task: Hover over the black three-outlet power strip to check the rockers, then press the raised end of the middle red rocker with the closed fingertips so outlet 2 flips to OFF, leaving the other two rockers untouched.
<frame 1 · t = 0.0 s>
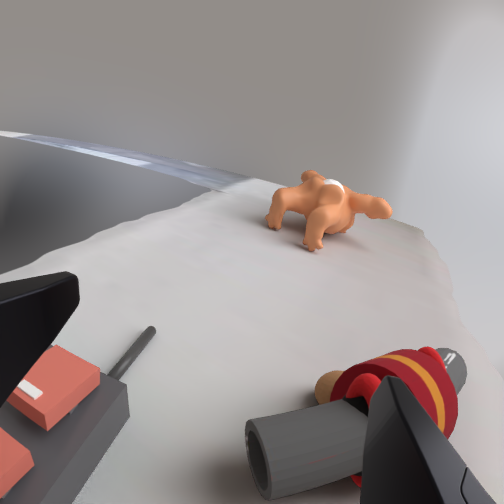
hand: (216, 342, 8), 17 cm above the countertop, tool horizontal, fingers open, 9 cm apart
rocker 3: (51, 382, 16), point 6 cm above the countertop, hinge at 12.0°
toy: (361, 446, 23), on the countertop
figurine: (316, 235, 70), on the countertop
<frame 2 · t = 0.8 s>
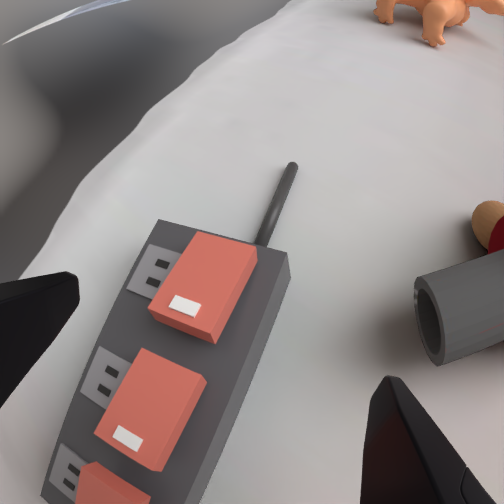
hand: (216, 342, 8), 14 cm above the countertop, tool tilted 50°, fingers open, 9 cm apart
rocker 3: (204, 282, 19), point 6 cm above the countertop, hinge at 12.0°
figurine: (432, 28, 42), on the countertop
rocker 2: (149, 409, 16), point 6 cm above the countertop, hinge at 12.0°
power strip: (167, 403, 21), on the countertop
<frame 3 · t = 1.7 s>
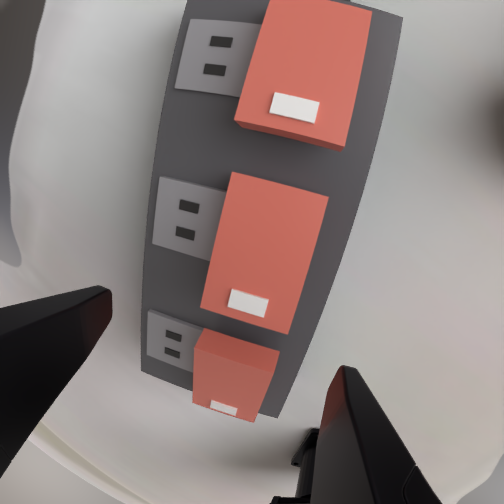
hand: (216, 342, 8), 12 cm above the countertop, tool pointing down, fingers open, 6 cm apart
rocker 3: (307, 64, 11), point 6 cm above the countertop, hinge at 12.0°
rocker 2: (263, 252, 14), point 6 cm above the countertop, hinge at 12.0°
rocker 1: (230, 382, 17), point 6 cm above the countertop, hinge at -12.0°
power strip: (256, 211, 19), on the countertop
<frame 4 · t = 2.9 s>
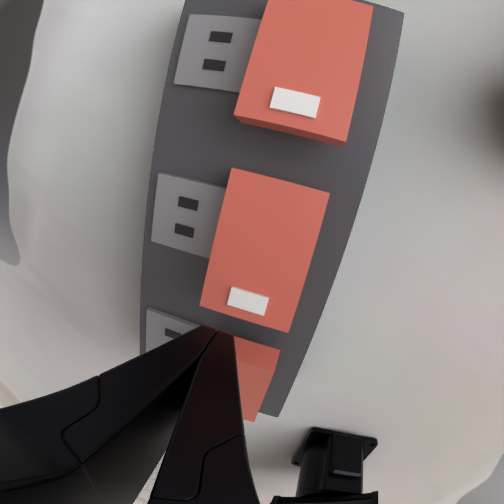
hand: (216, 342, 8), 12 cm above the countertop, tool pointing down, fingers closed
rocker 3: (308, 59, 11), point 6 cm above the countertop, hinge at 12.0°
rocker 2: (263, 250, 14), point 6 cm above the countertop, hinge at 12.0°
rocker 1: (230, 381, 17), point 6 cm above the countertop, hinge at -12.0°
power strip: (256, 208, 19), on the countertop
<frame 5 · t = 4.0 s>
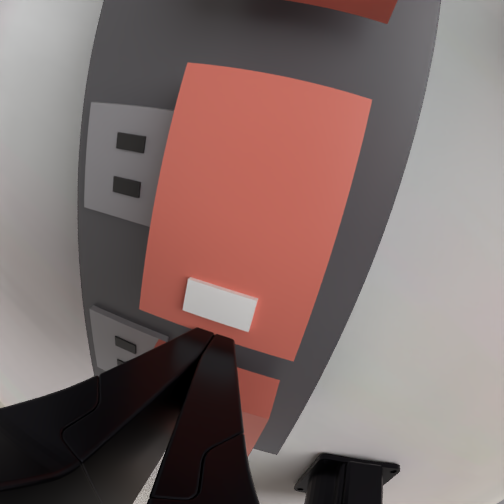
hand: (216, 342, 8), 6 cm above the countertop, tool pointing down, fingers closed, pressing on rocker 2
rocker 2: (247, 209, 7), point 6 cm above the countertop, hinge at 10.2°, touching gripper
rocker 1: (205, 417, 11), point 6 cm above the countertop, hinge at -12.0°
power strip: (246, 161, 13), on the countertop
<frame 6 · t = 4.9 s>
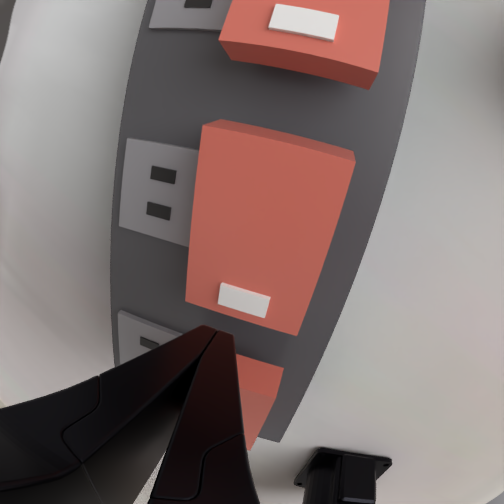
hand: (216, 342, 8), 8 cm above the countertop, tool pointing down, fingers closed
rocker 2: (260, 233, 10), point 6 cm above the countertop, hinge at -8.1°
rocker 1: (220, 404, 13), point 6 cm above the countertop, hinge at -12.0°
power strip: (254, 188, 15), on the countertop
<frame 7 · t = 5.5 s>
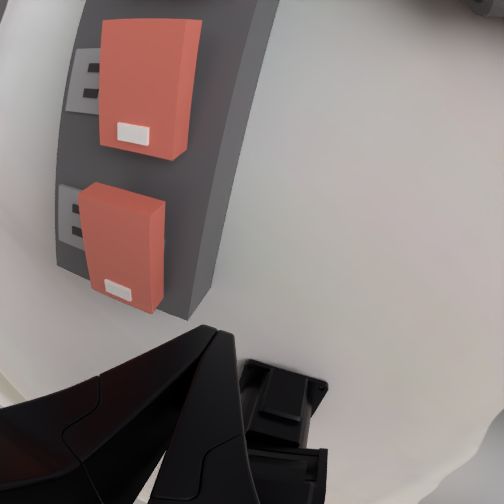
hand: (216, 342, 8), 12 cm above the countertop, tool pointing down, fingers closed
rocker 2: (143, 84, 12), point 6 cm above the countertop, hinge at -15.1°
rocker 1: (121, 251, 15), point 6 cm above the countertop, hinge at -12.0°
power strip: (171, 88, 17), on the countertop
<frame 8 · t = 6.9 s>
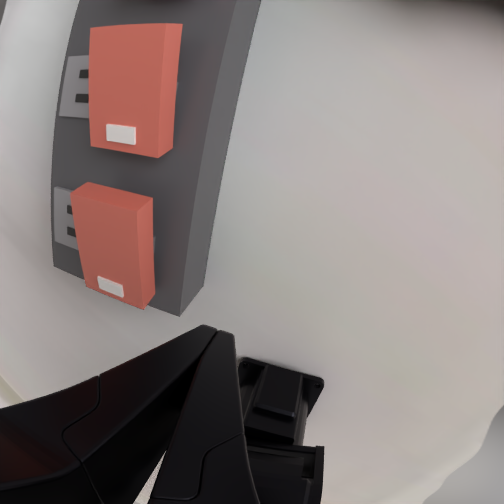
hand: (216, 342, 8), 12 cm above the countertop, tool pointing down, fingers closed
rocker 2: (129, 87, 12), point 6 cm above the countertop, hinge at -14.9°
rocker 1: (113, 248, 16), point 6 cm above the countertop, hinge at -12.0°
power strip: (160, 92, 18), on the countertop
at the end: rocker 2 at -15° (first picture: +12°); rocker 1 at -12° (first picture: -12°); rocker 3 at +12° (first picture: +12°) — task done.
